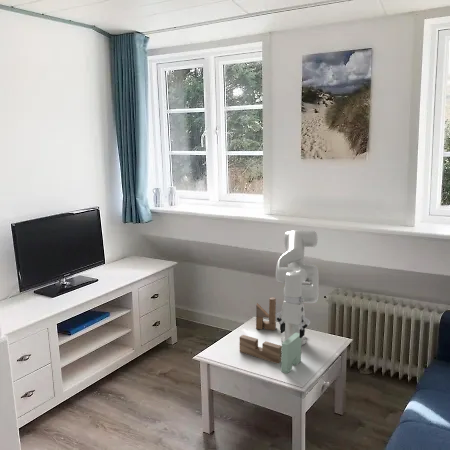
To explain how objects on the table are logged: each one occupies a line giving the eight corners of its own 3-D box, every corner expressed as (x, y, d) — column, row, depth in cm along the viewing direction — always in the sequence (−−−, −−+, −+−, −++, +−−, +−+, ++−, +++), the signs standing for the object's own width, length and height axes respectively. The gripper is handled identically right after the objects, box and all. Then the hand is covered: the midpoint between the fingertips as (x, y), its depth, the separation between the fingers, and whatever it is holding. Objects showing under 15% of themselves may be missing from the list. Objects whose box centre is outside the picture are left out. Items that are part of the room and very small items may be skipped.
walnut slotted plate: (242, 349, 240) (242, 334, 238) (281, 361, 227) (281, 345, 226) (239, 351, 237) (239, 336, 236) (278, 363, 225) (278, 348, 223)
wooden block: (256, 326, 267) (256, 296, 263) (275, 327, 265) (276, 297, 261) (256, 329, 263) (256, 298, 260) (275, 330, 262) (276, 299, 258)
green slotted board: (295, 359, 229) (295, 332, 226) (300, 361, 228) (301, 333, 225) (281, 371, 218) (281, 343, 215) (287, 373, 216) (287, 344, 213)
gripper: (314, 300, 214) (312, 336, 217) (280, 293, 224) (279, 327, 227) (306, 305, 208) (305, 341, 211) (272, 297, 218) (271, 332, 221)
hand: (292, 334), depth 219 cm, fingers open, 9 cm apart
